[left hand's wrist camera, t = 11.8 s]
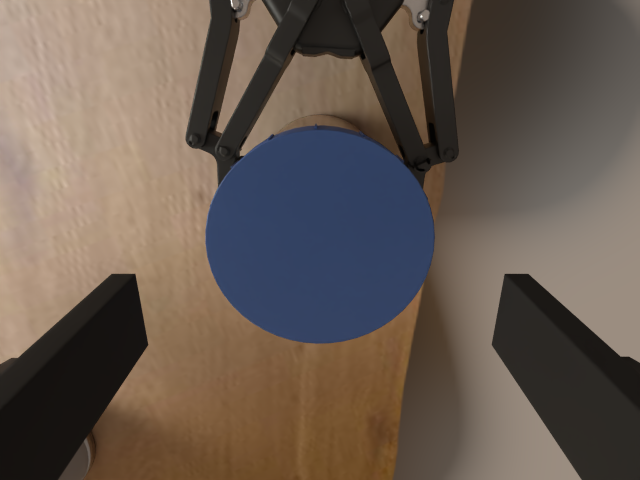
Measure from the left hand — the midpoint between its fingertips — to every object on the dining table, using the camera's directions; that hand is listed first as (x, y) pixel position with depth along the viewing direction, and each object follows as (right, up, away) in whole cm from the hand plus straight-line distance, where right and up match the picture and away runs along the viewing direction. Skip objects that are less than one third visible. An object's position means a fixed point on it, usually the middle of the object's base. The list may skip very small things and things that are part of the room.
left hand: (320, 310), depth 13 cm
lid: (0, +2, +5) cm, 6 cm away
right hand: (0, +1, +16) cm, 16 cm away
